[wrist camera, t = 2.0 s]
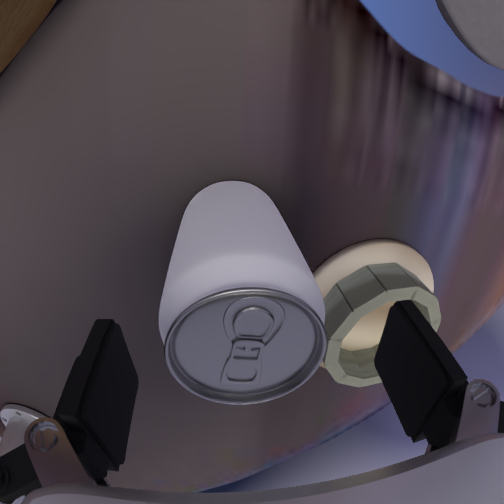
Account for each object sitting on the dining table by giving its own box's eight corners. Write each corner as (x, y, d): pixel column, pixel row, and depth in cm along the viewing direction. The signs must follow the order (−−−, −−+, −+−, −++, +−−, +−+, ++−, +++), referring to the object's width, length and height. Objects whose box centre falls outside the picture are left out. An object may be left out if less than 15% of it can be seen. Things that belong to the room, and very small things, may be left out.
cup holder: (407, 350, 29) (426, 380, 25) (287, 371, 28) (297, 408, 24) (442, 235, 23) (474, 260, 19) (296, 242, 22) (313, 275, 18)
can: (288, 186, 20) (365, 286, 10) (268, 273, 23) (308, 410, 12) (187, 172, 19) (150, 264, 8) (178, 263, 22) (154, 404, 11)
